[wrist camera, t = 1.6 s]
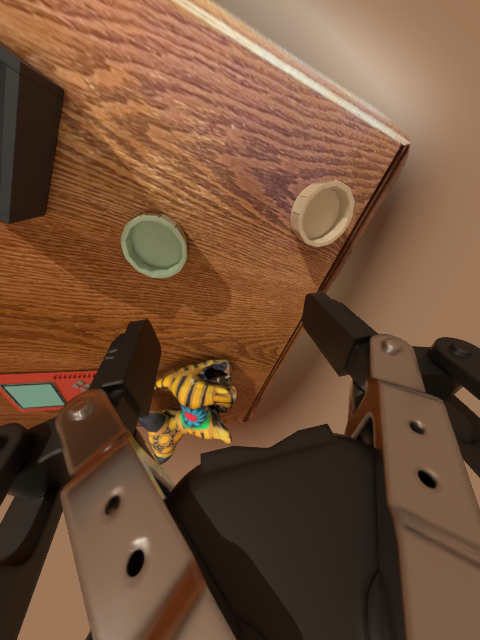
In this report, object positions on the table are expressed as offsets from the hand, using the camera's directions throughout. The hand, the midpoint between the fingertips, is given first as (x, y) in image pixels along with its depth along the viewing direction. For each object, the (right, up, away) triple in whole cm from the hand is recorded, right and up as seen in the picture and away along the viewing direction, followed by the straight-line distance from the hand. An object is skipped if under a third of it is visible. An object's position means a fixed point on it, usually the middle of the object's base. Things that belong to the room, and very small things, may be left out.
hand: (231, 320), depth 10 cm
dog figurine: (-10, -14, +30) cm, 34 cm away
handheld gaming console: (-30, -12, +23) cm, 39 cm away
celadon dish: (-9, +9, +12) cm, 17 cm away
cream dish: (+10, +13, +13) cm, 21 cm away
